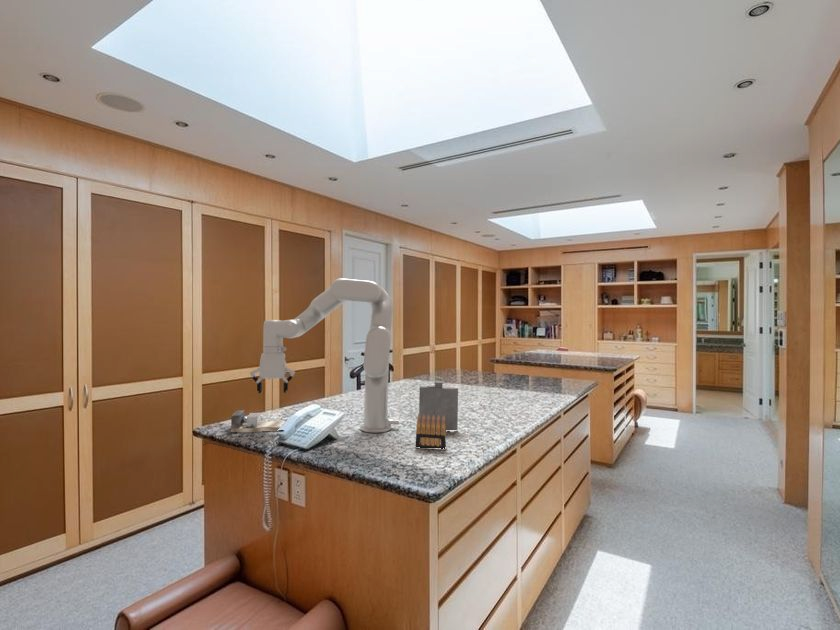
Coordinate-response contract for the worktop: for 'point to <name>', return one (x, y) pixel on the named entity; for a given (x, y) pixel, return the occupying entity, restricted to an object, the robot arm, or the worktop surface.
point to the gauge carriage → (252, 419)
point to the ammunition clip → (430, 433)
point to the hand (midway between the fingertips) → (272, 392)
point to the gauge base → (242, 427)
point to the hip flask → (439, 404)
